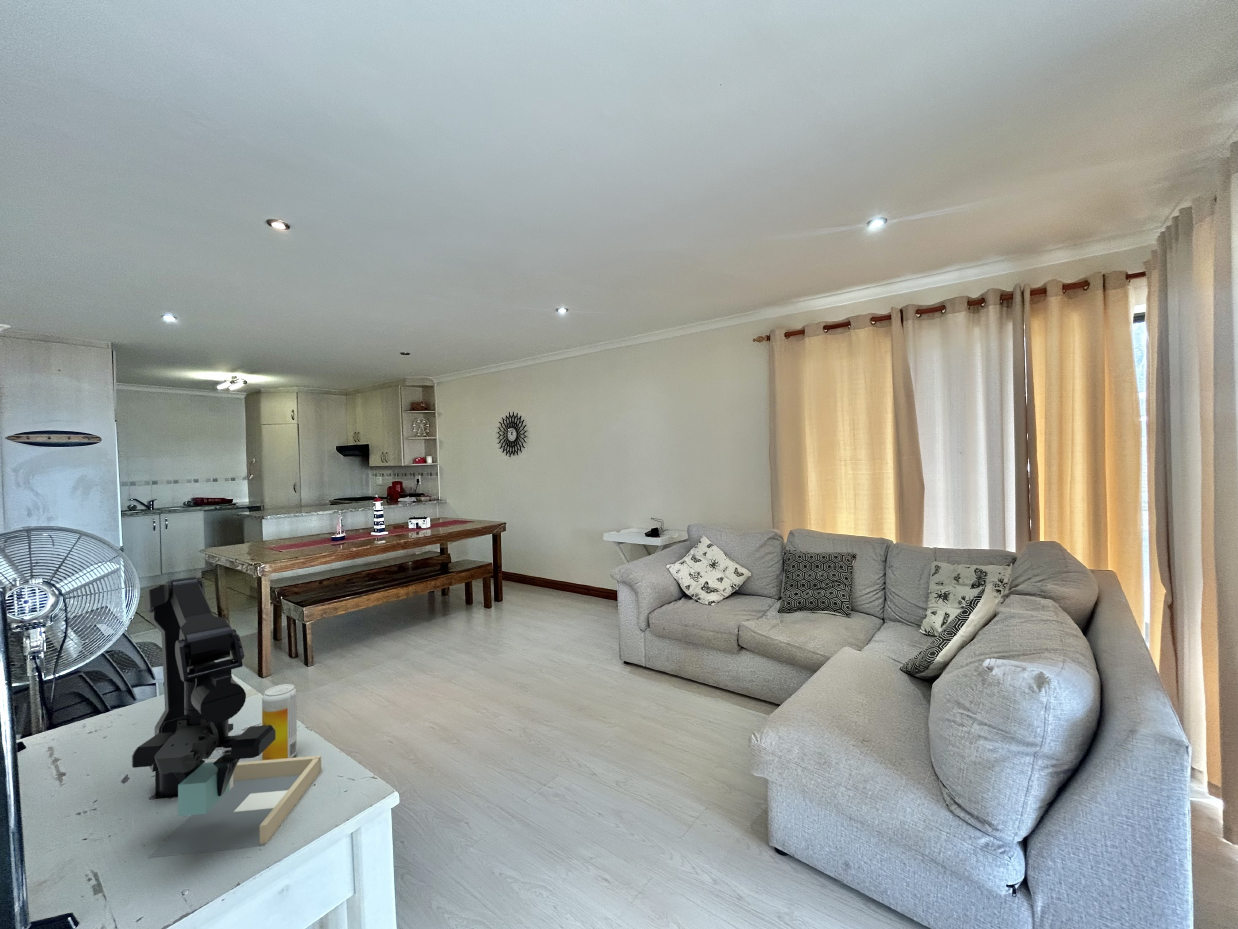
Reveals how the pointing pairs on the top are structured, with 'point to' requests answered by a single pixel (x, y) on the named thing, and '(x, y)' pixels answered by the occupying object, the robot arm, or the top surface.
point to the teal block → (200, 790)
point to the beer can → (281, 721)
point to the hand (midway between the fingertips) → (206, 796)
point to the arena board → (246, 807)
